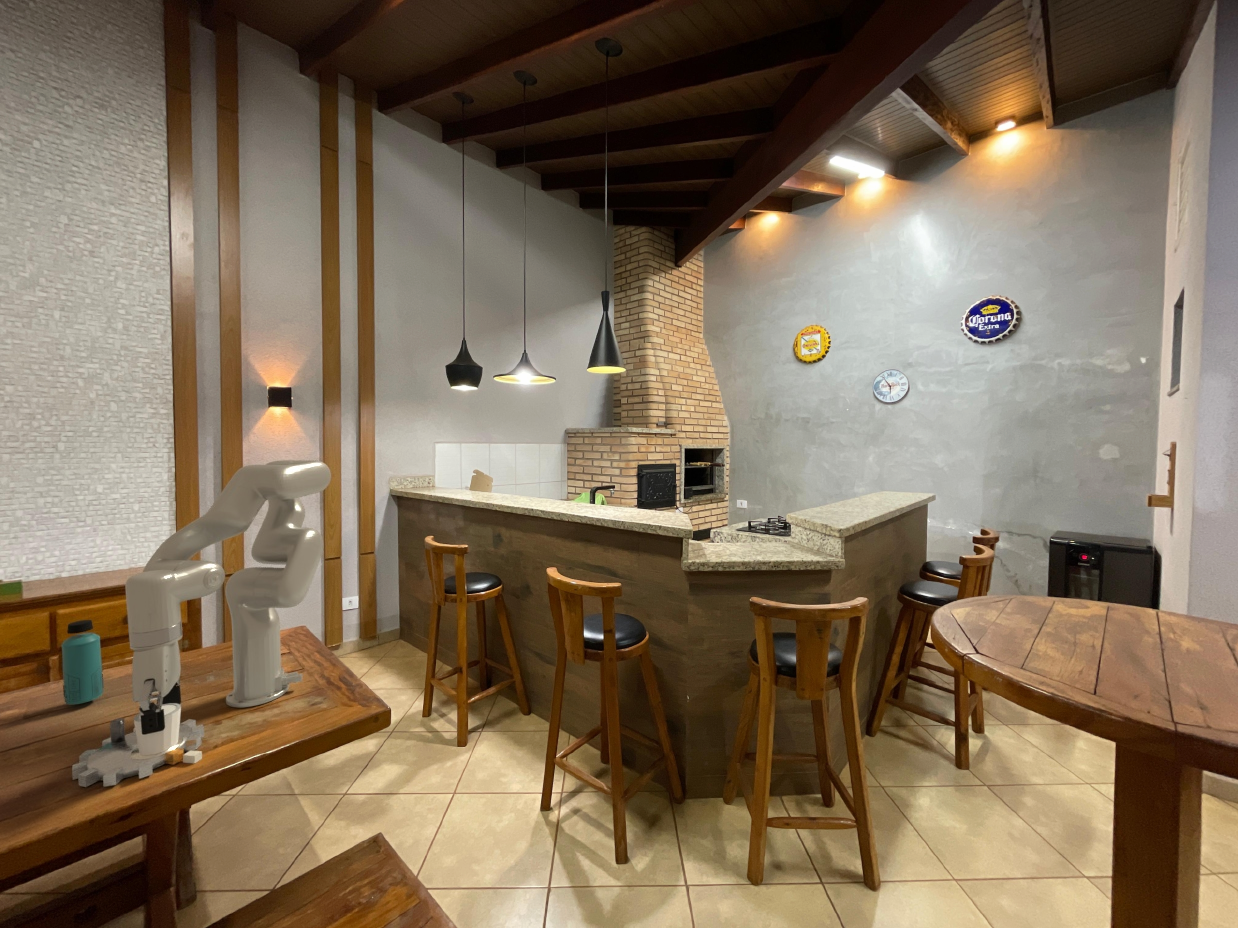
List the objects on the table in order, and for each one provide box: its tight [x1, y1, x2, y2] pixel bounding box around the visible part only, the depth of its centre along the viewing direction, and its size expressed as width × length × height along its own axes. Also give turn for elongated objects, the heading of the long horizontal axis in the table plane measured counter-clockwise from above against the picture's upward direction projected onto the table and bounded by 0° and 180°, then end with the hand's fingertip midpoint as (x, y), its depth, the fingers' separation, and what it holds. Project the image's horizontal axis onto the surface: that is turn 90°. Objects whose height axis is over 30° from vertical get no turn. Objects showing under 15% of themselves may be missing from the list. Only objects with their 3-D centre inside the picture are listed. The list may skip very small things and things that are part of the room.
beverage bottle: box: [61, 619, 105, 706], centre depth 118 cm, size 6×7×20 cm
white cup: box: [133, 703, 182, 755], centre depth 97 cm, size 7×7×7 cm
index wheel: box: [71, 717, 205, 788], centre depth 98 cm, size 19×19×6 cm
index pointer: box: [182, 750, 203, 764], centre depth 97 cm, size 2×2×2 cm, turn 84°
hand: (162, 718), depth 98 cm, fingers open, 9 cm apart
